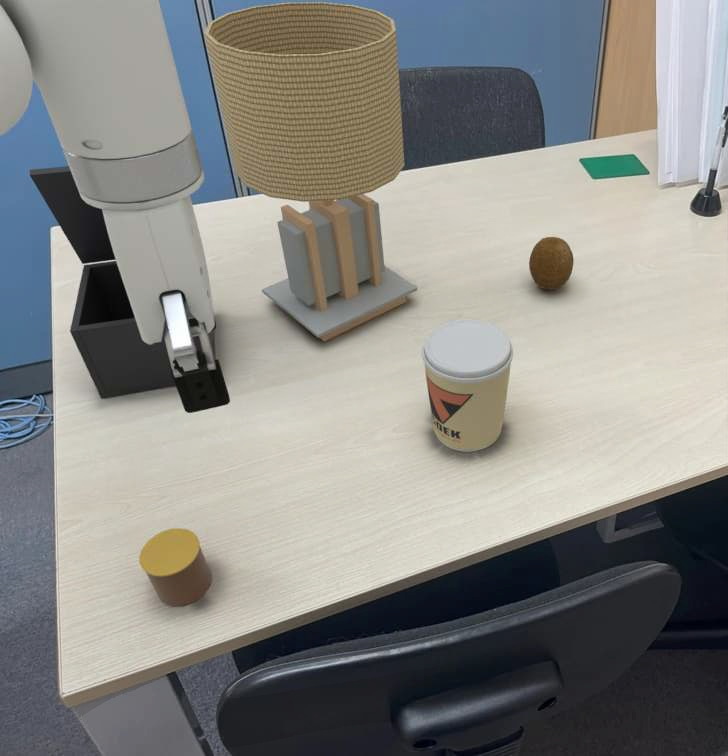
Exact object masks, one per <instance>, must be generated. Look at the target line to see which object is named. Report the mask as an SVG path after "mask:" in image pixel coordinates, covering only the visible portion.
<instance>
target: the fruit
mask: <svg viewBox="0 0 728 756" xmlns="http://www.w3.org/2000/svg"><path fill="white" fill-rule="evenodd" d="M574 259H575V257H574V255H573V251H572V249H571V247H570V244H568V243H567V241H565V240H564V239H563V238H560V237H557V236H546V237H544V238H543V237H542V239H540V240H539V241H538V242H537V243H536V244H534V247H533V248H532V250H531V254H530V256H529V262H528V268H529V273H530V276H531V278H532V280H533V282H534V283H535V284H536V285H537V286H538V287H539V288H541V289H545V290H557V289H560V288H561V287H563V286H564V285H565V284H566V283H567V282H568V281H569V279H570V278H571V275H572V273H573V268H574V263H575V261H574Z"/></svg>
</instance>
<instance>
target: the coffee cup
mask: <svg viewBox="0 0 728 756" xmlns="http://www.w3.org/2000/svg"><path fill="white" fill-rule="evenodd" d="M421 356H422V357H421V358H422V361H423V363H424V370H425V379H426V385H427V393H428V400H429V407H430V414H431V420H432V426H433V427H432V428H433V432H434V434H435V436H436V438H437V440H438V441H439V442H440V443H441V444H442V445H443V446H445V447H447V448H449V449H451V450H453V451H458V452H462V453H463V452H464V453H467V452H468V453H470V452H472V453H473V452H476V451H481V450H484V449H486V448H488V447H490V446H492V445H493V444H494V443H495V442H497V440H498V438H499V437H500V435H501V433H502V429H503V423H504V417H505V410H506V403H507V395H508V389H509V380H510V374H511V365H512V361H513V358H514V348H513V343H512V341H510V339H509V337H508V335H507V334H506V333H505V331H504V330H502V329H501V328H500V327H499V326H497V325H496V324H494V323H491V322H488V321H485V320H481V319H474V318H473V319H472V318H463V319H462V318H461V319H455V320H450V321H447V322H444V323H442V324H440V325H438V326H437V327H435V328H434V329H432V331H430V332H429V334H428V335H427V337H426V339H425V341H424V342H423V344H422V349H421Z"/></svg>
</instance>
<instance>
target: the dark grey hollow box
mask: <svg viewBox="0 0 728 756" xmlns="http://www.w3.org/2000/svg"><path fill="white" fill-rule="evenodd" d="M213 314H214V315H215V313H214V312H213ZM69 332H70V335H71V337H72V339H73V341H74V343H75V346H76V348H77V350H78V352H79V354H80V356H81V358H82V361H83V362H84V365H85V367H86V369H87V372H88V374H89V376H90V378H91V380H92V382H93V385H94V386H95V388H96V389H95V390H97V392H98V395H99V397H100V399H101V400H103V399H108V398H114V397H120V396H125V395H126V396H127V395H131V394H137V393H144V392H149V391H156V390H161V389H166V388H173V387H176V385H175V382H174V379H173V376H172V374H171V369H172V367H171V363H170V359H169V355H168V351H167V347H166V343H165V340H164V337H163V335H162V340H161V342H157V343H154V344H151V345H149V344H147V343H145V342H144V341H143V340H142V338H141V335H140V332H139V329H138V325H137V322H136V319H135V316H134V313H133V310H132V307H131V304H130V301H129V298H128V295H127V292H126V289H125V286H124V283H123V280H122V277H121V274H120V271H119V268H118V265H117V262H116V260H110V261H102V262H94V263H87V264H83V268H82V272H81V277H80V281H79V287H78V290H77V297H76V301H75V305H74V310H73V315H72V320H71V324H70V329H69ZM207 333H208V332H207ZM208 337H209V341H210V345H211V349H212V353H213V357H214V360H216V338H215V337H216V335H215V330H213V331H210V332H209V333H208ZM192 338H193V342H194V345H195V348H196V351H201V352H202V353H203V349H202V345H201V341H200V337H199V336H194V337H192ZM203 354H204V353H203Z"/></svg>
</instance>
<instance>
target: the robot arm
mask: <svg viewBox="0 0 728 756" xmlns="http://www.w3.org/2000/svg"><path fill="white" fill-rule="evenodd" d="M162 12H163V11H162V8H161V5H160V1H159V0H0V137H2V136H4V135H6V134H7V133H8V132H9V131H11V130H12V129H13V128H14V127H15V126H16V125H17V124H18V123H19V122H20V121H21V119H22V118H23V116H24V115H25V113H26V111H27V110H28V107H29V104H30V101H31V98H32V94H33V85H34V84H36V86H37V88H38V90H39V93H40V95H41V98H42V100H43V103H44V105H45V108H46V110H47V113H48V116H49V119H50V121H51V124H52V126H53V129H54V131H55V134H56V136H57V139H58V141H59V144H60V147H61V150H62V152H63V155H64V157H65V161H66V162H67V166H69V168H70V170H71V173H72V175H73V178H74V180H75V183H76V186H77V188H78V191H79V193H80V196H81V198H82V199H83V200H84V201H85V202H86V203H87V204H89V205H91V206H93V207H96V208H100V209H102V211H103V216H104V220H105V224H106V228H107V231H108V235H109V239H110V242H111V246H112V249H113V252H114V256H115V259H116V260H115V261H116V262H117V265H118V268H119V271H120V274H121V277H122V280H123V283H124V286H125V289H126V292H127V295H128V298H129V301H130V304H131V307H132V310H133V313H134V316H135V319H136V322H137V325H138V329H139V332H140V335H141V338H142V340H143V341H144V342H145V343H147V344H149V345H151V344H154V343H157V342H161V340H162V335H163V337H164V340H165V343H166V347H167V351H168V355H169V359H170V363H171V367H172V369H171V374H172V376H173V379H174V382H175V385H176V386H175V387H176V390H177V393H178V395H179V399H180V401H181V404H182V407H183V410H184V411H185V412H186V413H188V414H192V413H197V412H201V411H206V410H210V409H214V408H218V407H222V406H227V405H228V404H230V402H231V398H230V394H229V390H228V387H227V384H226V379H225V377H224V373H223V370H222V367H221V364H220V361H219V358H215V360H214V357H213V353H212V349H211V345H210V341H209V337H208V333H209V332H210V331H213V330H214V331H216V329H217V323H216V319H215V313H214V307H213V296H212V291H211V283H210V277H209V270H208V269H209V268H208V263H207V259H206V255H205V249H204V245H203V241H202V237H201V232H200V229H199V225H198V221H197V216H196V213H195V209H194V206H193V202H192V198H191V195H192V194H194V193H196V192H197V191H198V190H199V189H200V188H201V186H202V185H203V184H204V181H205V174H204V170H203V166H202V163H201V159H200V154H199V151H198V146H197V142H196V139H195V136H194V131H193V127H192V126H191V120H190V116H189V112H188V108H187V105H186V101H185V97H184V94H183V89H182V86H181V82H180V78H179V75H178V70H177V66H176V62H175V58H174V55H173V51H172V47H171V43H170V39H169V35H168V31H167V28H166V27H167V26H166V24H165V20H164V16H163V13H162ZM213 313H214V314H213ZM207 332H208V333H207ZM194 336H199V337H200V341H201V345H202V349H203V353H204V354H203V353H202V352H201V351H196V348H195V345H194V342H193V338H192V337H194Z"/></svg>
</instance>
